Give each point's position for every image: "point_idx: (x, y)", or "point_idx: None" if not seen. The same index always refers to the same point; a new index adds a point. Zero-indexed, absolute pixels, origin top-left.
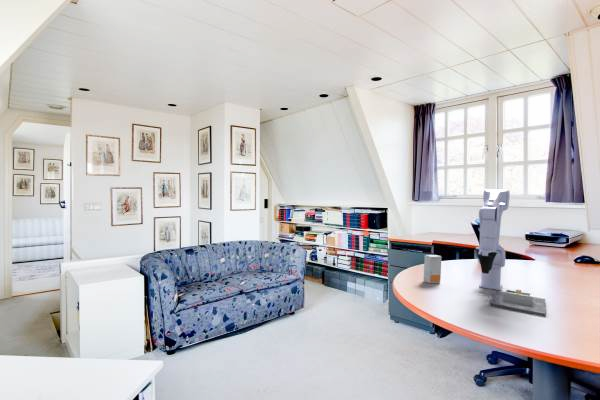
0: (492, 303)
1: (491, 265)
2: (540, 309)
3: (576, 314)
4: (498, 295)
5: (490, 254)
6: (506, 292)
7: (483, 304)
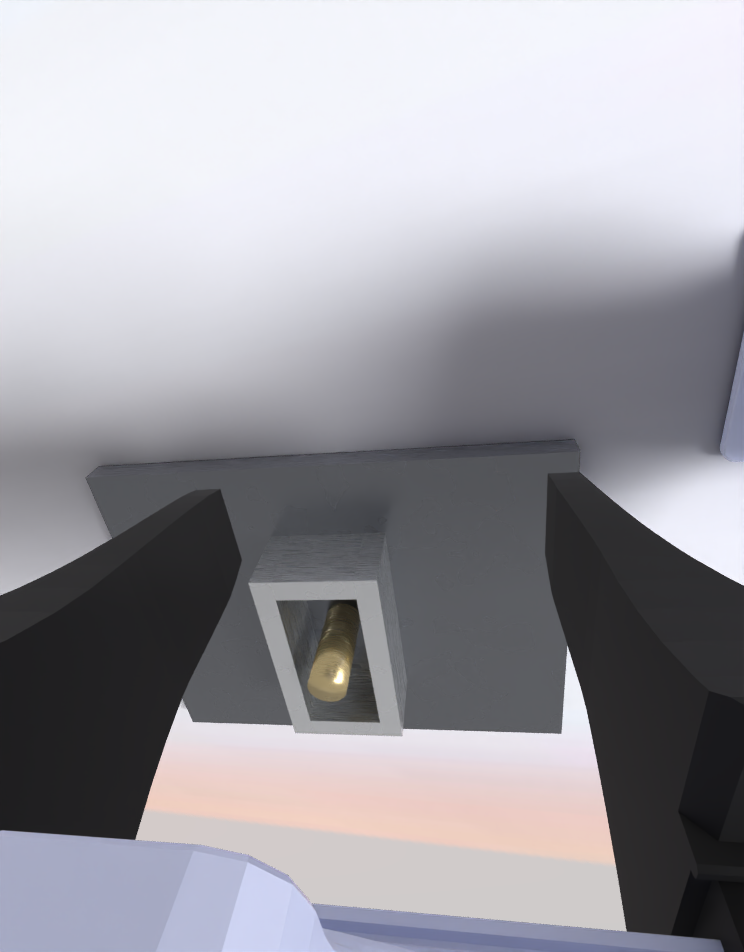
0: (97, 492)
1: (567, 627)
2: (255, 707)
3: (387, 799)
4: (392, 493)
5: (651, 877)
6: (256, 603)
7: (90, 422)
